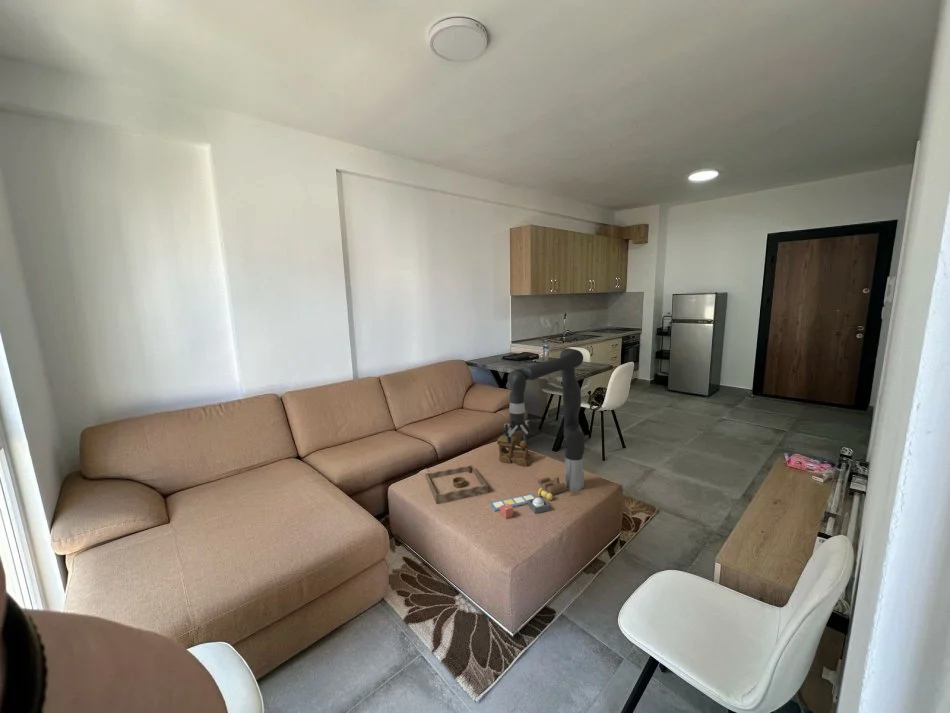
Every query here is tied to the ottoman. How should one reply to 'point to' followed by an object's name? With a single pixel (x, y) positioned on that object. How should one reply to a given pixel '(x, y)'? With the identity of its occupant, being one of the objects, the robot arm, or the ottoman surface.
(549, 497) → the pawn
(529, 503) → the base
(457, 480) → the place setting
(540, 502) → the dome
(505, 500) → the board
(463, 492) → the serving frame
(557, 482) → the wooden block set
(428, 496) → the ottoman surface
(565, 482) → the robot arm
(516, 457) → the wooden toy train
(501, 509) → the die
